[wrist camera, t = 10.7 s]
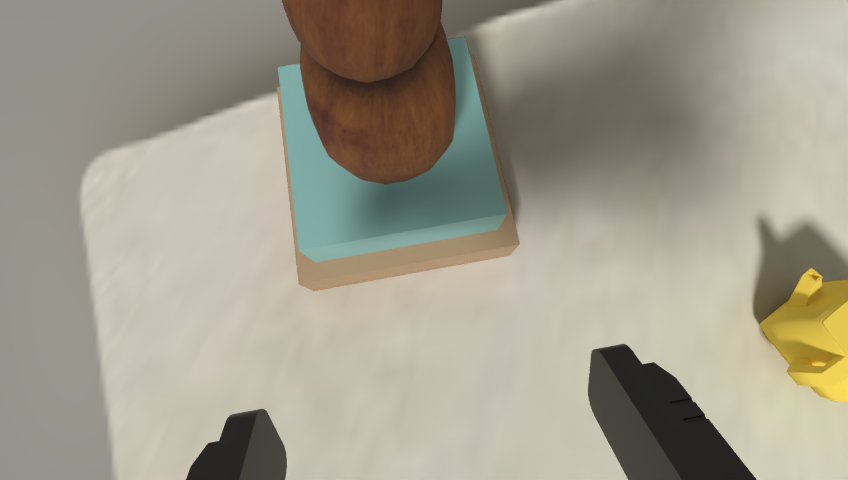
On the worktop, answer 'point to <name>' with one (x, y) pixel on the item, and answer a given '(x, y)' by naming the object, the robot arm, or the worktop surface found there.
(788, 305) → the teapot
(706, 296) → the worktop surface
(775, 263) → the worktop surface
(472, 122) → the tower base
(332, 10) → the wooden figurine
